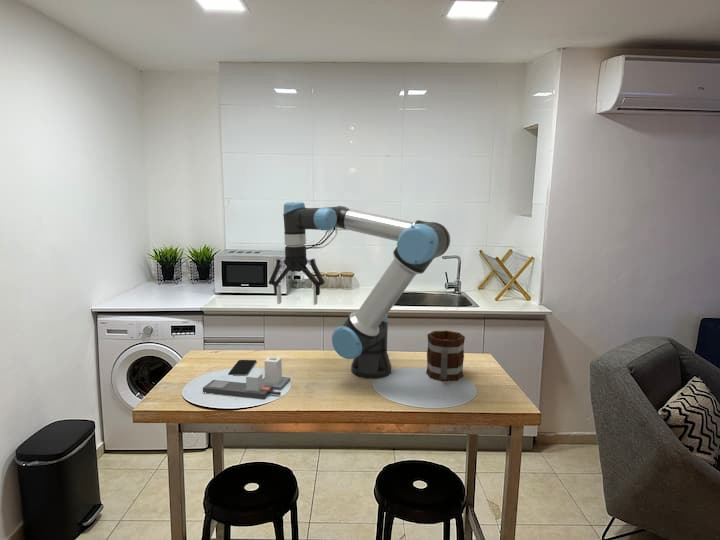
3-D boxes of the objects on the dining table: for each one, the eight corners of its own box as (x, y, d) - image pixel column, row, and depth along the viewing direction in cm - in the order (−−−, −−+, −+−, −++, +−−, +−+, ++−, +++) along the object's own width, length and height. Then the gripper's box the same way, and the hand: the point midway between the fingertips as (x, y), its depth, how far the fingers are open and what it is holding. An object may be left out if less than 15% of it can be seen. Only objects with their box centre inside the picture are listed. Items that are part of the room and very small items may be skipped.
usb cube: (262, 386, 167) (262, 373, 167) (257, 390, 164) (257, 377, 163) (251, 384, 168) (251, 372, 167) (246, 389, 164) (246, 376, 164)
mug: (427, 366, 192) (428, 329, 189) (463, 369, 189) (465, 331, 187) (423, 386, 173) (424, 345, 170) (463, 390, 170) (465, 348, 168)
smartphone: (227, 374, 182) (238, 359, 196) (227, 376, 182) (238, 361, 197) (247, 374, 181) (257, 360, 196) (247, 377, 181) (257, 362, 196)
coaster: (290, 380, 178) (290, 377, 178) (281, 390, 169) (280, 387, 169) (266, 377, 180) (266, 375, 179) (256, 387, 171) (256, 385, 171)
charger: (282, 379, 176) (281, 356, 174) (277, 384, 171) (276, 361, 170) (270, 378, 177) (269, 355, 175) (265, 383, 172) (264, 359, 171)
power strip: (284, 391, 168) (284, 385, 167) (276, 400, 161) (276, 394, 161) (213, 384, 173) (213, 378, 173) (203, 392, 166) (202, 386, 166)
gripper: (331, 244, 180) (333, 301, 184) (265, 244, 184) (267, 300, 187) (327, 246, 173) (329, 306, 176) (258, 246, 176) (261, 305, 180)
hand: (297, 303), depth 182 cm, fingers open, 13 cm apart
